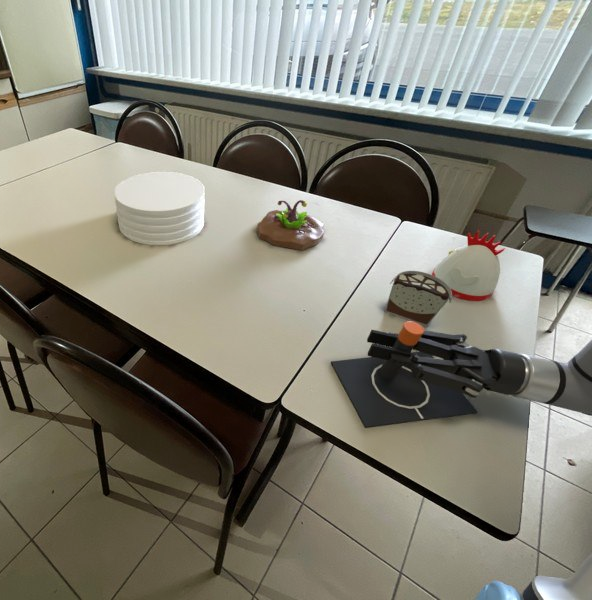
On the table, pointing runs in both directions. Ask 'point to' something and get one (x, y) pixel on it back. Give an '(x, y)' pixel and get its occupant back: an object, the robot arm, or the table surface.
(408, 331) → the marker
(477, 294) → the kitchen timer
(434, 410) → the desk mat
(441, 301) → the food container
